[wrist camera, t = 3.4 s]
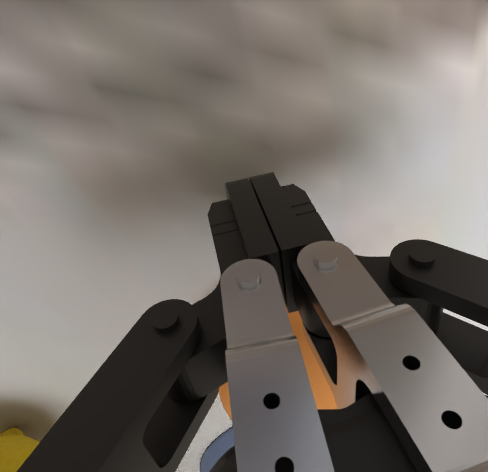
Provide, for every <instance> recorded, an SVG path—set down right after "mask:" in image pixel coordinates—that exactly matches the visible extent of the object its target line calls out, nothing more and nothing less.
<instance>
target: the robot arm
mask: <svg viewBox="0 0 488 472" xmlns="http://www.w3.org/2000/svg"><path fill="white" fill-rule="evenodd" d="M225 188H226V193H227V198H228V200H224V201H220V202H215V203H212V205H211V207H210V210H209V212H208V218H209V223H210V227H211V232H212V236H213V240H214V245H215V249H216V253H217V258H218V262H219V266H220V271H221V278H220V281H219V283H218V285H217V287H216V288H215V290H214V291H213V292H212V293H211V294H209V295H208V296H207V297H205V298H204V299H202V300H200V301H198V302H197V303H195V304H193V305H191V304H190V303H188V302H186V301H184V300H179V299H171V300H165V301H162V302H159V303H157V304H155V305H153V306H152V307H150V308H149V309H148V310H147V311H146V312H145V313H144V314H143V315H142V316H141V318H140V319H139V320H138V321H137V322H136V324H135V325H134V326H133V327H132V329H131V330H130V331H129V332H128V334H127V335H126V336H125V337H124V339H123V340H122V341H121V342H120V344H119V345H118V346H117V347H116V349H115V350H114V351H113V352H112V353H111V355H110V356H109V357H108V358H107V360H106V361H105V362H104V363H103V365H102V366H101V367H100V368H99V370H98V371H97V372H96V373H95V375H94V376H93V377H92V378H91V380H90V381H89V382H88V383H87V385H86V386H85V387H84V388H83V389H82V391H81V392H80V393H79V394H78V396H77V397H76V398H75V399H74V401H73V402H72V403H71V404H70V406H69V407H68V408H67V409H66V411H65V412H64V413H63V414H62V416H61V417H60V418H59V419H58V421H57V422H56V423H55V424H54V425H53V427H52V428H51V429H50V430H49V432H48V433H47V434H46V435H45V437H44V438H43V439H42V440H41V442H40V443H39V444H38V445H37V447H36V448H35V449H34V450H33V452H32V453H31V454H30V455H29V456H28V458H27V459H26V460H25V461H24V463H23V464H22V465H21V466H20V468H19V469H18V470H17V471H16V472H175V471H176V469H177V467H178V466H179V464H180V462H181V460H182V458H183V456H184V455H185V453H186V451H187V449H188V447H189V446H190V444H191V442H192V440H193V438H194V437H195V435H196V433H197V431H198V429H199V427H200V426H201V424H202V422H203V420H204V418H205V417H206V415H207V413H208V411H209V409H210V408H211V406H212V404H213V402H214V400H215V399H216V397H217V394H218V392H219V387H220V386H222V385H223V384H225V383H226V382H228V387H229V396H230V406H231V415H232V425H233V434H234V444H235V445H233V446H232V447H231V448H230V449H228V450H227V451H226V452H225V453H224V454H223V455H222V456H221V457H220V458H219V460H218V461H217V462H216V463H215V465H214V466H213V467H212V468H211V470H210V471H209V472H488V396H486V395H484V394H483V393H485V394H487V395H488V331H486V330H483V329H481V328H479V327H476V326H474V325H472V324H469V323H467V322H465V321H462V320H460V319H457V318H455V317H453V316H450V315H448V314H446V313H443V308H444V309H447V310H449V311H451V312H454V313H456V314H459V315H461V316H463V317H466V318H468V319H471V320H473V321H475V322H478V323H480V324H483V325H485V326H487V327H488V260H486V259H483V258H480V257H477V256H474V255H471V254H468V253H465V252H462V251H459V250H456V249H453V248H450V247H447V246H444V245H441V244H438V243H435V242H431V241H427V240H408V241H404V242H402V243H399V244H398V245H396V246H395V247H394V248H393V250H392V251H391V255H390V257H364V256H358V255H354V254H353V252H352V251H351V250H350V249H349V248H348V247H346V246H345V245H343V244H341V243H338V242H335V240H334V239H333V237H332V235H331V234H330V232H329V230H328V229H327V227H326V225H325V224H324V222H323V220H322V219H321V217H320V215H319V214H318V212H316V209H315V207H314V206H313V204H312V203H311V201H310V199H309V197H308V196H307V194H306V192H305V191H304V190H302V189H300V188H299V187H297V186H295V185H294V184H291V185H287V186H282V187H281V186H280V184H279V183H278V181H277V179H276V177H275V175H274V173H273V172H271V173H267V174H263V175H258V176H254V177H250V178H249V179H248V178H246V179H242V180H238V181H233V182H229V183H225ZM285 305H286V306H285ZM286 307H287V309H286ZM287 310H288V313H291V312H295V311H298V312H299V314H300V316H301V319H302V326H303V334H304V336H305V338H306V340H307V342H308V344H309V346H310V348H311V350H312V352H313V354H314V356H315V358H316V360H317V362H318V364H319V367H320V369H321V371H322V373H323V375H324V377H325V379H326V381H327V383H328V385H329V387H330V389H331V391H332V393H333V396H334V398H335V401H336V405H337V409H317V407H316V403H315V400H314V396H313V392H312V389H311V385H310V382H309V378H308V375H307V371H306V367H305V364H304V360H303V357H302V353H301V349H300V346H299V343H298V340H297V337H296V336H294V335H293V331H292V328H291V324H290V320H289V317H288V313H287ZM482 392H483V393H482Z"/></svg>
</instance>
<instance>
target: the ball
mask: <svg viewBox="0 0 488 472" xmlns="http://www.w3.org/2000/svg"><path fill="white" fill-rule="evenodd" d="M285 306H286V305H285ZM286 309H287V307H286ZM287 313H288V310H287ZM288 317H289V320H290V324H291V328H292V331H293V335H294V336H296V337H297V340H298V343H299V346H300V349H301V353H302V357H303V360H304V364H305V367H306V371H307V375H308V378H309V382H310V385H311V389H312V392H313V396H314V400H315V403H316V407H317V409H337V405H336V401H335V398H334V396H333V393H332V391H331V389H330V387H329V385H328V383H327V381H326V379H325V377H324V375H323V373H322V371H321V369H320V367H319V364H318V362H317V360H316V358H315V356H314V354H313V352H312V350H311V348H310V346H309V344H308V342H307V340H306V338H305V336H304V334H303V326H302V319H301V316H300V314H299V312H298V311H295V312H291V313H288ZM219 395H220V399H221V401H222V404H223V406H224V409H225V410H226V412H227V414H228V415H229V417H230V419H231V420H232V415H231V406H230V396H229V387H228V382H226V383H225V384H223V385H222V386H220V387H219Z"/></svg>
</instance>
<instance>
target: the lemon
mask: <svg viewBox="0 0 488 472" xmlns="http://www.w3.org/2000/svg"><path fill="white" fill-rule="evenodd" d="M39 443H40V442H39V441H37V440H35V439H32V438H30V437H26V436H25V435H24V433H23V432H22V431H21V430H20V429H18V428H10V429H7V430H6V431H4V432H3V433H1V434H0V472H16V471H17V470H18V469H19V468H20V466H21V465H22V464H23V463H24V461H25V460H26V459H27V458H28V456H29V455H30V454H31V453H32V452H33V450H34V449H35V448H36V447H37V445H38V444H39Z"/></svg>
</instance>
